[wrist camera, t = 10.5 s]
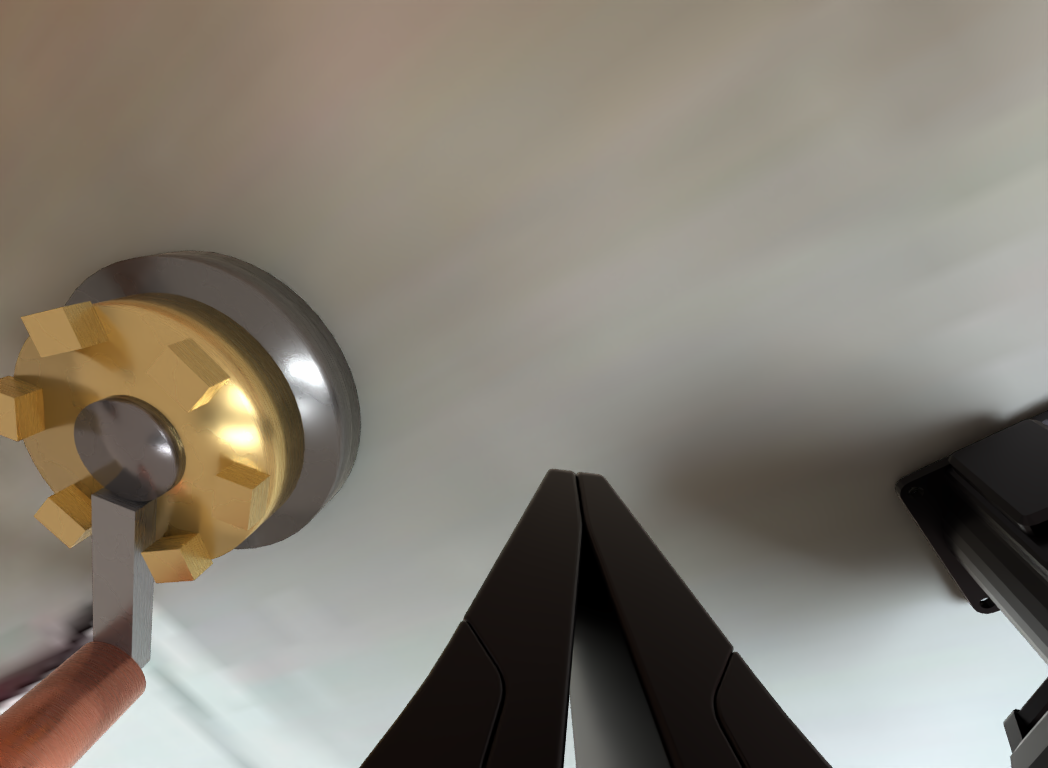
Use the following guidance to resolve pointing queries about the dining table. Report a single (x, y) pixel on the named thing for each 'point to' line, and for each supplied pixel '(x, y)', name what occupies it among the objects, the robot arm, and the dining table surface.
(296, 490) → the grey round base plate
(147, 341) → the copper and gold mechanism
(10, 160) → the dining table surface
